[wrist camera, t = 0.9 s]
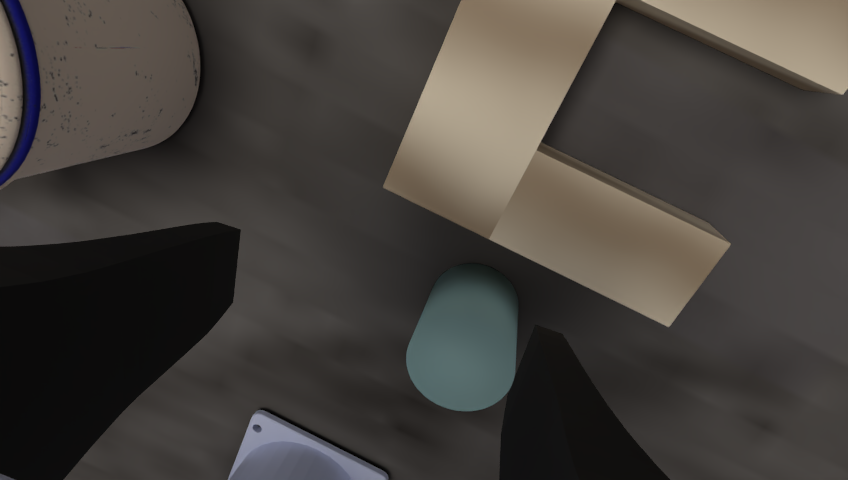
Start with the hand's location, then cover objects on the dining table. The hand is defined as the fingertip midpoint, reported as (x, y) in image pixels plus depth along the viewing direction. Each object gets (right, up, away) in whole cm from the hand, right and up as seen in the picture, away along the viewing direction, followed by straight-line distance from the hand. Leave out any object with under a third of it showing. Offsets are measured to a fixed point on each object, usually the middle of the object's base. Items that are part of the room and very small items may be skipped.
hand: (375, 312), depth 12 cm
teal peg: (+3, -1, +11) cm, 12 cm away
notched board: (+8, +7, +7) cm, 13 cm away
